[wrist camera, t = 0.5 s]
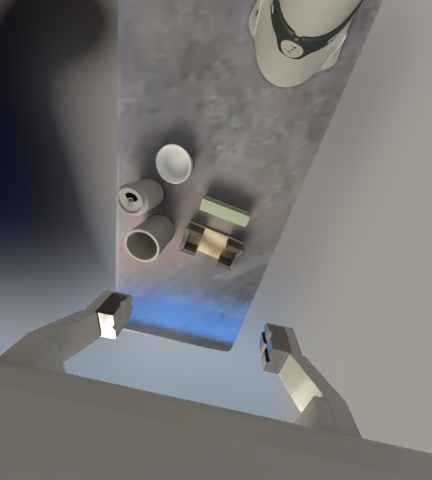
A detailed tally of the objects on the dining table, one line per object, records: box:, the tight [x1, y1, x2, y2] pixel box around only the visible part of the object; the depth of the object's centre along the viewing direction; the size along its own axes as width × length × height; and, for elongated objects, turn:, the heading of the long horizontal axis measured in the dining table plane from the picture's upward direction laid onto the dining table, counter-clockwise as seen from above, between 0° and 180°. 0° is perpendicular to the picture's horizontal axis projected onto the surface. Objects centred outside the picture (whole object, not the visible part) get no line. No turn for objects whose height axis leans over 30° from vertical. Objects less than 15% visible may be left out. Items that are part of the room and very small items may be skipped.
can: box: [117, 179, 164, 216], centre depth 46 cm, size 8×8×12 cm
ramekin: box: [156, 144, 193, 184], centre depth 45 cm, size 9×9×4 cm
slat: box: [199, 195, 250, 227], centre depth 49 cm, size 3×13×5 cm, turn 70°
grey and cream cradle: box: [179, 221, 243, 271], centre depth 53 cm, size 8×17×5 cm, turn 68°
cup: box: [124, 215, 175, 262], centre depth 50 cm, size 9×9×12 cm
